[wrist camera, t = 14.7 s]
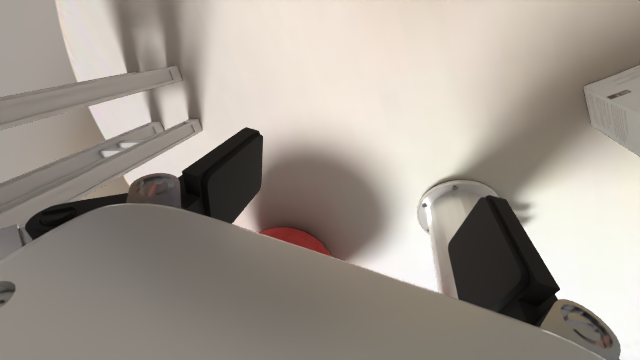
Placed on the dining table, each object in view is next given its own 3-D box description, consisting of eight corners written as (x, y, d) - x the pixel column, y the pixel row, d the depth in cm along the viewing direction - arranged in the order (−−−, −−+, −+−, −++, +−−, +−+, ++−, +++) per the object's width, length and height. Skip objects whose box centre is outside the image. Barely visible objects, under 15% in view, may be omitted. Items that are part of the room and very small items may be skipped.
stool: (215, 140, 47) (-61, 321, 19) (153, 142, 52) (-145, 290, 23) (181, 50, 40) (-378, 124, 11) (112, 61, 44) (-411, 136, 16)
